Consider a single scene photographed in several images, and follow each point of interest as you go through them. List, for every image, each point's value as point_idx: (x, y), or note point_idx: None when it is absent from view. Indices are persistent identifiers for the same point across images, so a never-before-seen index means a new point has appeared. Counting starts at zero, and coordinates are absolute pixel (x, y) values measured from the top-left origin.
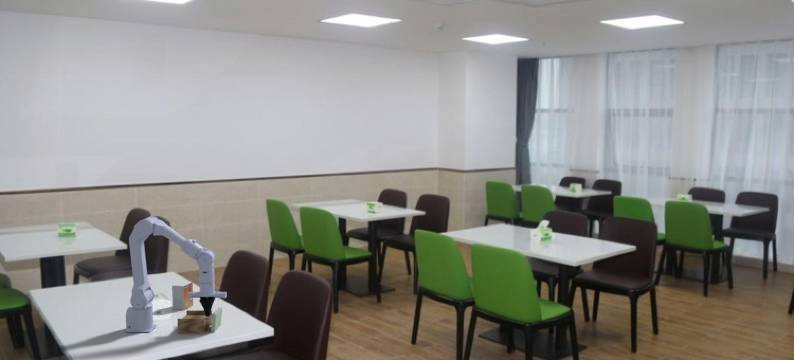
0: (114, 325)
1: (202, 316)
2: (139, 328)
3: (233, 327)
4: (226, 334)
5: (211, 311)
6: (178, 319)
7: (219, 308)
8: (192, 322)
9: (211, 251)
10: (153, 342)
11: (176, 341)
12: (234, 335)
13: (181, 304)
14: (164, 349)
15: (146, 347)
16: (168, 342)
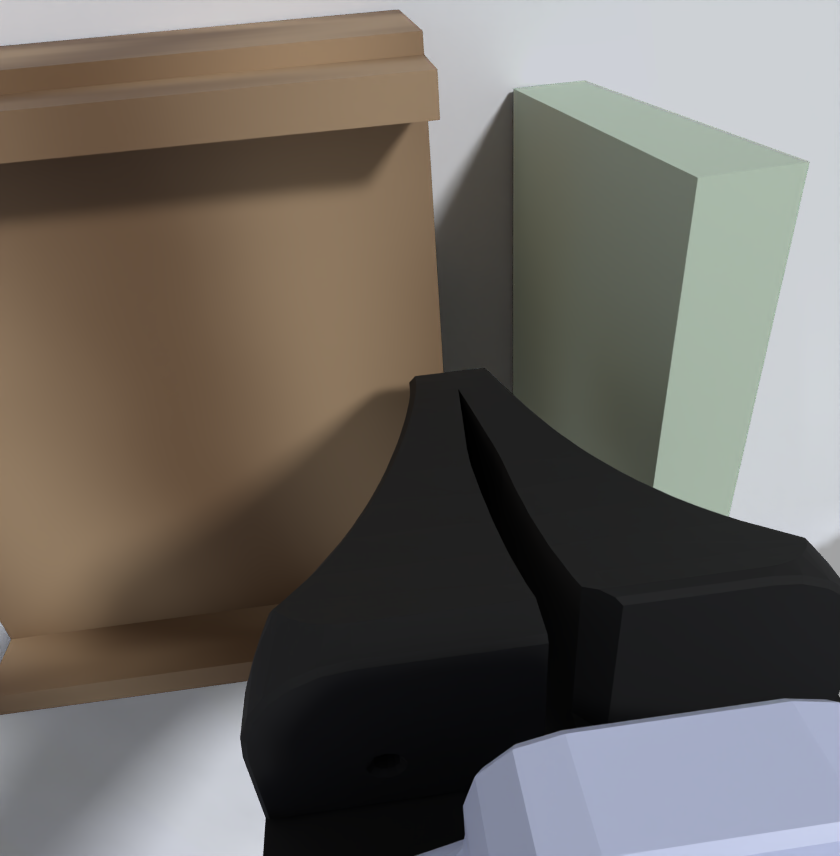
0: None
1: (265, 286)
2: None
3: (822, 217)
4: (733, 496)
5: (435, 118)
6: (15, 708)
7: (737, 259)
8: None
9: None
10: (10, 772)
11: (236, 723)
12: (829, 512)
13: None
14: (242, 848)
15: (47, 849)
16: (169, 751)
